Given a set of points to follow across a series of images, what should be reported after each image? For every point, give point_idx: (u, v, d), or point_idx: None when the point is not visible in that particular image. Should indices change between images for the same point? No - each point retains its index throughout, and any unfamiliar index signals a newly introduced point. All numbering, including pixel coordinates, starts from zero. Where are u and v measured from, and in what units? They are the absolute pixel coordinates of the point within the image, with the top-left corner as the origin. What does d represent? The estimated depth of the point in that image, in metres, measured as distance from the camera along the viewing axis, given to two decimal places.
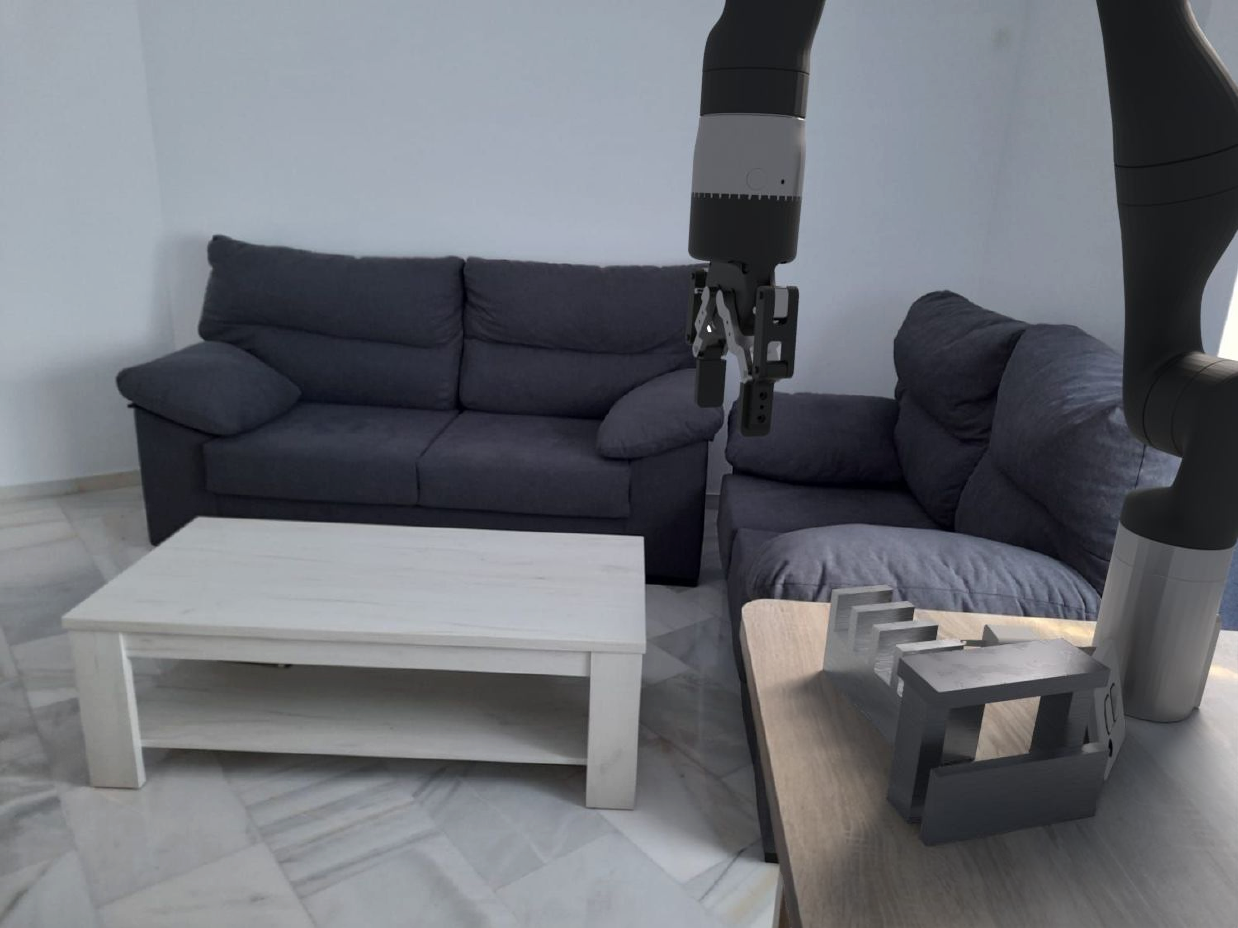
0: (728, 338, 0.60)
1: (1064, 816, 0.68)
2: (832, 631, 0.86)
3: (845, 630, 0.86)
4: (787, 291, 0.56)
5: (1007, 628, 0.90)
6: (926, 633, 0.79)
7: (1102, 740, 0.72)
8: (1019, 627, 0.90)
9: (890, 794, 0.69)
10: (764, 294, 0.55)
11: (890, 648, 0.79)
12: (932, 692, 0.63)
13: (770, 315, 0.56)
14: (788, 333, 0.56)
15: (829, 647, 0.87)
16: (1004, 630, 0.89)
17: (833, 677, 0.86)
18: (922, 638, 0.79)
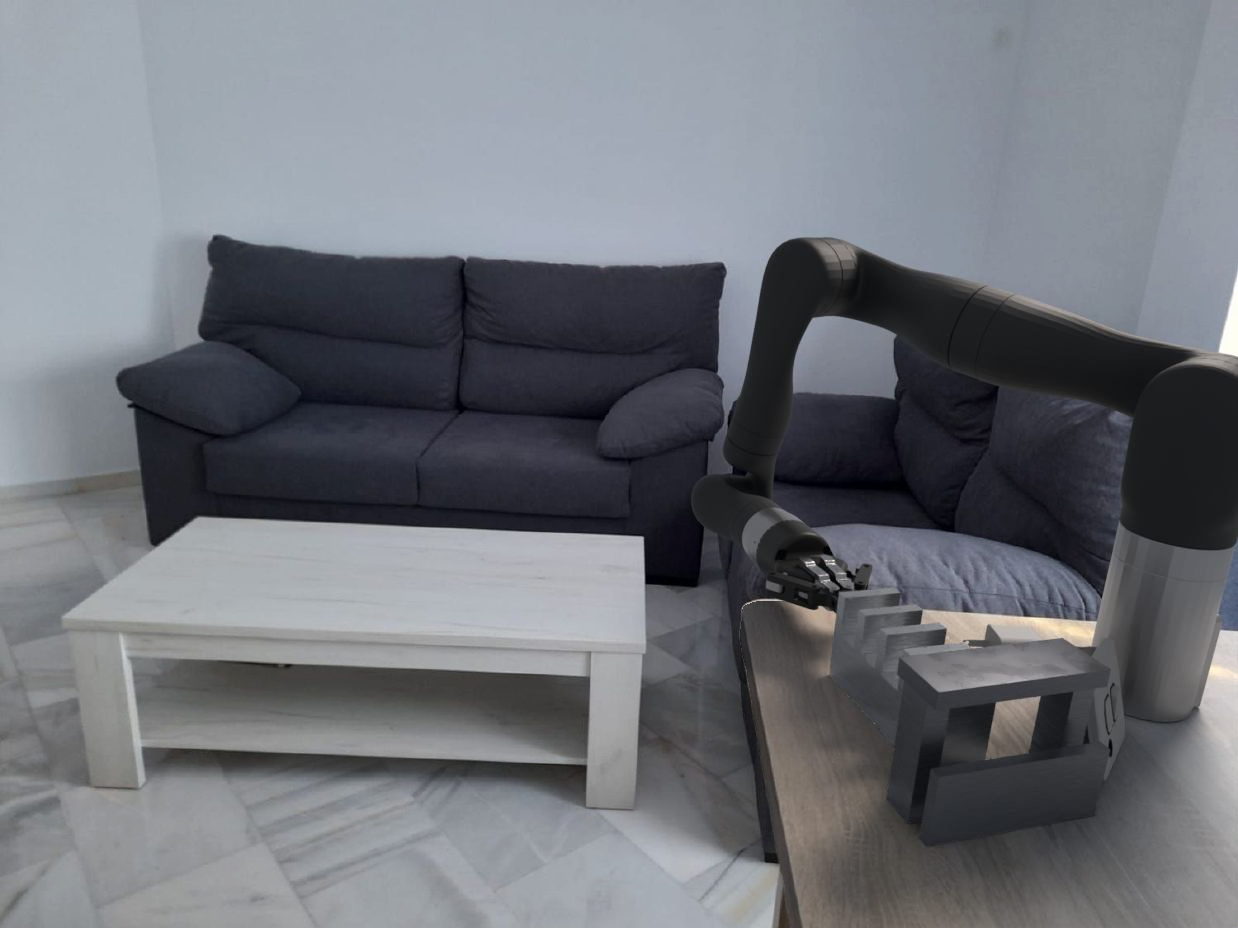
0: None
1: (1064, 816, 0.68)
2: (839, 634, 0.85)
3: (852, 633, 0.85)
4: (767, 580, 0.92)
5: (1009, 628, 0.90)
6: (934, 637, 0.78)
7: (1102, 740, 0.72)
8: (1022, 627, 0.90)
9: (890, 794, 0.69)
10: (767, 595, 0.93)
11: (898, 652, 0.78)
12: (932, 692, 0.63)
13: (779, 594, 0.92)
14: (790, 586, 0.91)
15: (835, 651, 0.86)
16: (1006, 630, 0.89)
17: (840, 681, 0.85)
18: (930, 642, 0.78)
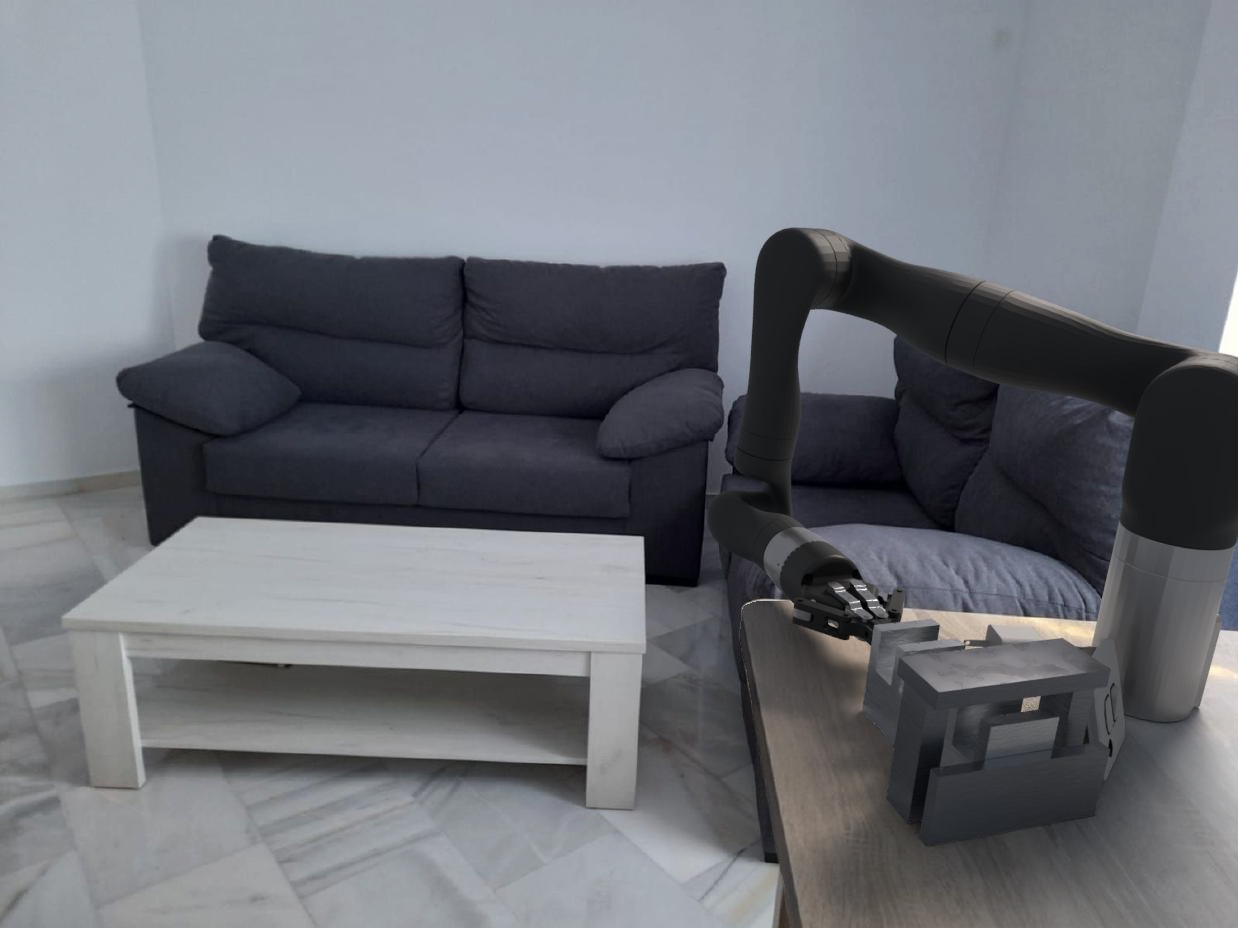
0: None
1: (1064, 816, 0.68)
2: (874, 670, 0.79)
3: (888, 669, 0.79)
4: (794, 608, 0.87)
5: (1010, 628, 0.90)
6: None
7: (1102, 740, 0.72)
8: (1023, 627, 0.90)
9: (890, 794, 0.69)
10: (794, 623, 0.87)
11: None
12: (932, 692, 0.63)
13: (807, 623, 0.86)
14: (819, 614, 0.85)
15: (870, 687, 0.80)
16: (1007, 630, 0.89)
17: (875, 720, 0.79)
18: None
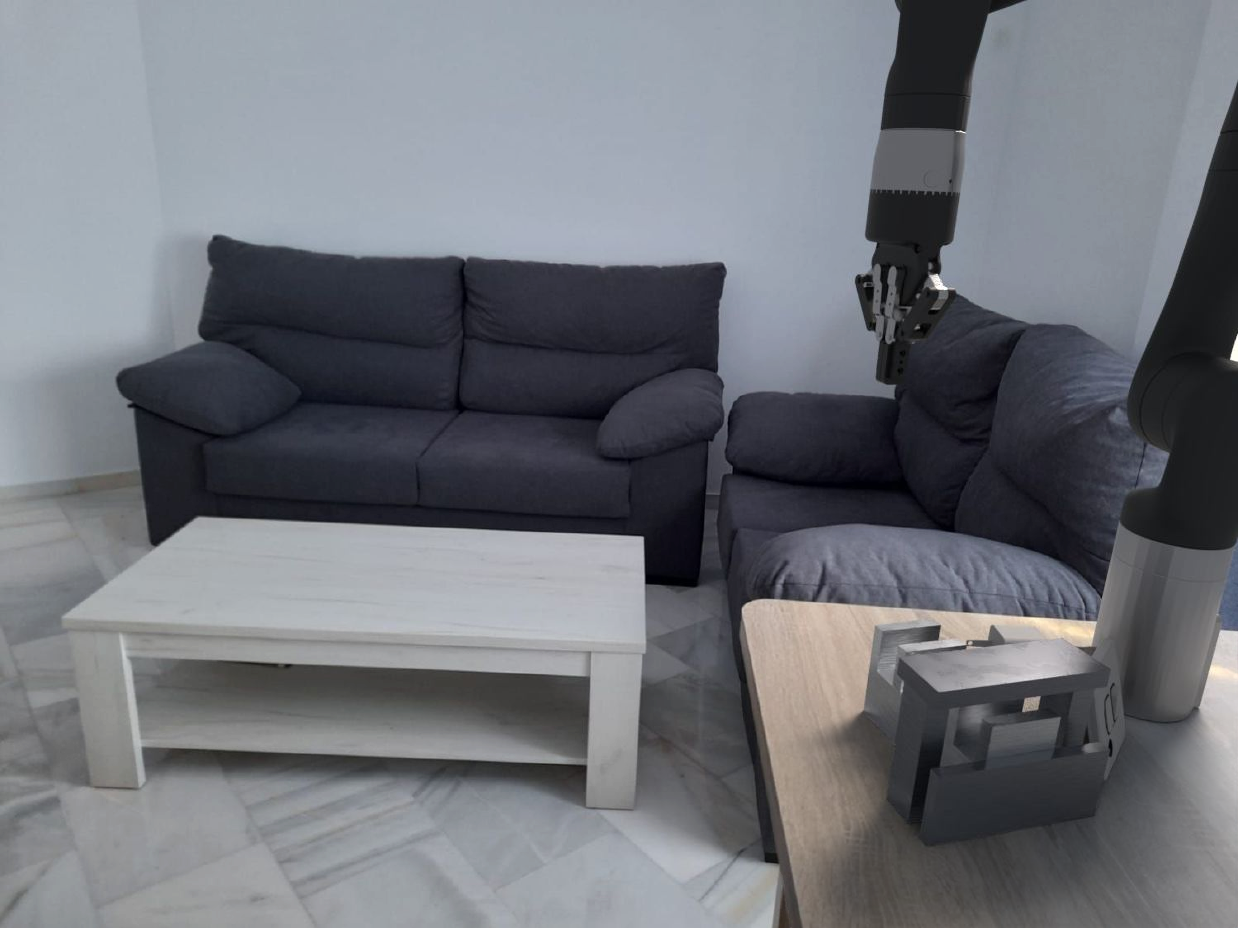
0: (887, 305, 0.78)
1: (1064, 816, 0.68)
2: (875, 670, 0.79)
3: (889, 669, 0.79)
4: (947, 296, 0.73)
5: (1013, 629, 0.90)
6: None
7: (1102, 740, 0.72)
8: (1025, 627, 0.90)
9: (890, 794, 0.69)
10: (930, 298, 0.73)
11: None
12: (932, 692, 0.63)
13: (927, 309, 0.74)
14: (934, 319, 0.75)
15: (871, 687, 0.80)
16: (1010, 630, 0.89)
17: (876, 720, 0.79)
18: None
